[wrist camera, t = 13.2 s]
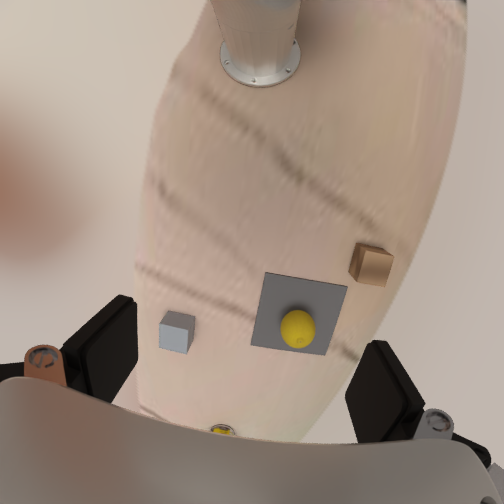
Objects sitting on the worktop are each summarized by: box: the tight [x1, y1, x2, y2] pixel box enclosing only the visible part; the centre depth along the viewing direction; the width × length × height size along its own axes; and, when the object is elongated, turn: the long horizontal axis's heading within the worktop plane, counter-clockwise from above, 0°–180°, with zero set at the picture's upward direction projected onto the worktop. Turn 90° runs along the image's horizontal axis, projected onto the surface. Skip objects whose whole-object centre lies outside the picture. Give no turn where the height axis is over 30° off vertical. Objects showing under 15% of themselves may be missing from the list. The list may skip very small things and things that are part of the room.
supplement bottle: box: [211, 425, 234, 436], centre depth 51 cm, size 6×6×10 cm
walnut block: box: [348, 243, 394, 287], centre depth 42 cm, size 5×5×5 cm
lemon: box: [280, 310, 316, 348], centre depth 43 cm, size 6×6×8 cm
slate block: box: [159, 311, 195, 354], centre depth 47 cm, size 5×5×5 cm
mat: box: [251, 272, 348, 355], centre depth 47 cm, size 14×14×1 cm
